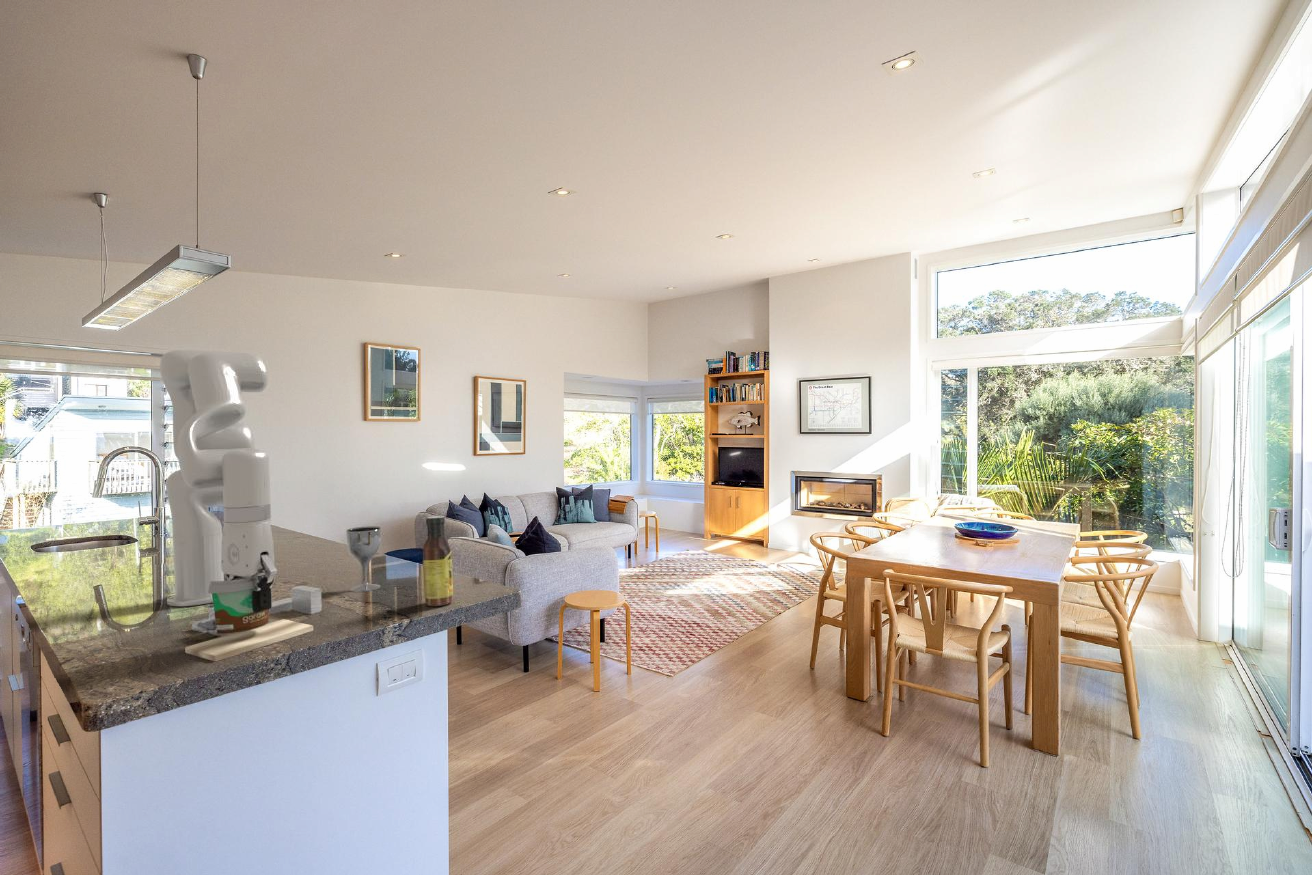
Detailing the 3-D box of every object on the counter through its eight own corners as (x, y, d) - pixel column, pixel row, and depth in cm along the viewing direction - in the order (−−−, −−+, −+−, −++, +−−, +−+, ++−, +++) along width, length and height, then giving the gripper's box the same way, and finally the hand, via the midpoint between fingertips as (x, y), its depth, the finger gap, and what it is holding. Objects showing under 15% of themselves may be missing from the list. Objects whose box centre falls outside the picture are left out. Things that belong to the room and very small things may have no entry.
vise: (180, 633, 126) (179, 608, 125) (289, 603, 145) (288, 582, 145) (214, 642, 120) (213, 616, 120) (323, 610, 139) (322, 588, 139)
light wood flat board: (185, 652, 114) (185, 647, 114) (283, 623, 130) (283, 618, 130) (215, 661, 110) (215, 655, 110) (313, 630, 126) (313, 625, 126)
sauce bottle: (456, 604, 142) (454, 517, 142) (428, 609, 139) (425, 519, 138) (448, 597, 148) (446, 513, 147) (421, 602, 144) (418, 516, 144)
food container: (238, 638, 113) (236, 583, 113) (209, 636, 115) (207, 582, 114) (291, 616, 125) (289, 567, 125) (265, 615, 127) (263, 566, 126)
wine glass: (341, 591, 155) (339, 531, 154) (361, 583, 163) (359, 526, 162) (370, 592, 154) (368, 531, 153) (389, 584, 161) (387, 526, 161)
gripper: (201, 515, 120) (204, 607, 121) (253, 520, 112) (256, 619, 113) (242, 509, 127) (245, 597, 127) (294, 514, 119) (297, 608, 119)
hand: (250, 607), depth 120 cm, fingers closed on food container, 6 cm apart
